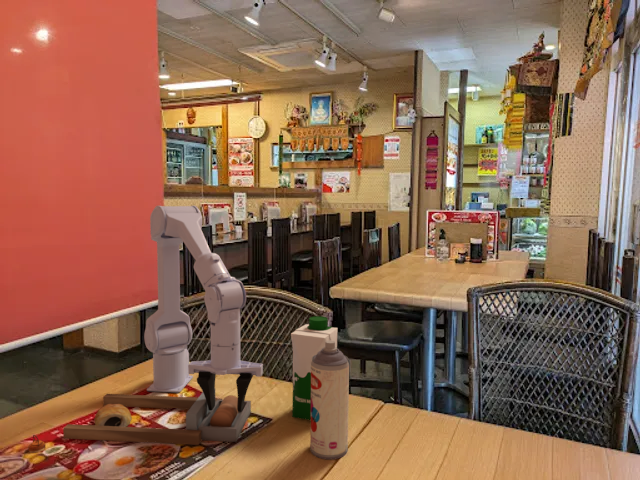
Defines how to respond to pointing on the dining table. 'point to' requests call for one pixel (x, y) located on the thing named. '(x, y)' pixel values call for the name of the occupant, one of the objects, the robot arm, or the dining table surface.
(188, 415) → the block
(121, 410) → the pastry
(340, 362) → the aerosol can
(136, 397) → the rail
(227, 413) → the roller
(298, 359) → the milk carton
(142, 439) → the rail
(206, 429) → the cradle
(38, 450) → the round teapot
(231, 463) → the dining table surface
